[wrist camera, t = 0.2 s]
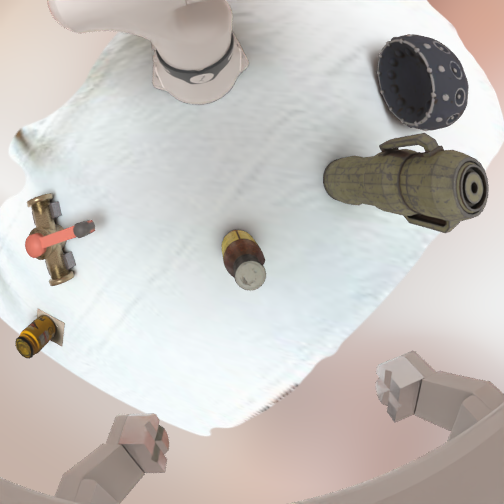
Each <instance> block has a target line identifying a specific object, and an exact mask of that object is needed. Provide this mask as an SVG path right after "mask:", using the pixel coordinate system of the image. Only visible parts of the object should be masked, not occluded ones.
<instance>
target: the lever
mask: <svg viewBox="0 0 504 504" xmlns="http://www.w3.org/2000/svg"><path fill="white" fill-rule="evenodd" d="M93 231H95V225H94V223H93V221H92V220H86V221H83V222H80V223H77V224H76V225H75V226H72V227H69V228H67V229H64V230H61V231H58V232H55V233H53V234H50V235H47V236H43V235H42V234H40V233H35V234H32V235H30V236H28V237H27V239H26V242H25V247H26V251H27V253H28V254H29V255H30V256H31V257H33V258H36V257H39V256H41V255H43V254H44V253H45V251H46V248H47V247H48V246H51V245H54V244H57V243H60V242H63V241H66V240H69V239H72V238H75V237H78V238H81V237H84V236H86V235H88V234H90V233H92V232H93Z"/></svg>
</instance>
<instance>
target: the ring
mask: <svg viewBox="0 0 504 504" xmlns="http://www.w3.org/2000/svg"><path fill="white" fill-rule="evenodd" d="M377 75H378V79H379V84H380V88H381V94H382V95H383V97H384V99H385V102H386V103H387V105H388V107H389V110H390V111H391V112H392V113H393V114H394V115H395V116H396V117H397V118H398V119H399V120H400V121H401V122H402V123H403V124H407V126H408V127H410V128H412V127H414V128H418V129H422V130H424V131H428V130H436V129H440V128H444V127H447V126H450V125H451V124H453V123H454V122H455V121H457V120H458V119H459V118H460V116H461V115H462V114H463V112H464V110H465V108H466V106H467V99H468V81H467V78H466V75H465V73H464V70H463V67H462V65H461V63H460V61H459V60H458V58H457V57H456V56H455V55H454V53H453V52H452V51H451V50H450V49H449V48H447V47H446V46H445V45H443V44H442V43H440V42H438V41H436V40H434V39H432V38H428V37H424V36H419V35H410V34H408V35H404V36H400V37H393V38H392V39H391V41H388V42H387V43H386V45H385V46H384V48H383V49H382V51H381V53H380V54H379V61H378V71H377Z"/></svg>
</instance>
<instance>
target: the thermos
mask: <svg viewBox="0 0 504 504" xmlns="http://www.w3.org/2000/svg"><path fill="white" fill-rule="evenodd" d="M413 145H420V146H422V147H424V149H425V151H426V152H423V153H420V152H418V153H417V152H415V151H413V150H408V149H402V150H399V149H398V147H405V146H413ZM379 147H380V149H381V151H382V152H381V153H378V154H377V155H375V156H372V157H364V158H363V157H359V156H350V157H345V158H340V159H338V160H335V161H333V162H331V163H330V164H329V165H328V166H327V168H326V169H325V172H324V175H323V183H324V187H325V190H326V191H327V193H328V194H329V195H330V196H331V197H332V198H333V199H335V200H338V201H341V202H343V203H347V204H352V205H360V204H362V203H363V204H368V205H373V206H376V207H377V208H379V209H381V210H383V211H386V212H391V213H395V214H399V215H403V216H404V217H405V218H406V219H407V221H408V222H409V223H411V224H415V225H419V226H422V227H426V228H429V229H433V230H436V231H440V232H443V233H447V232H450V231H451V230H452V229H453V228H454V227H456V226H457V225H458V224H459V223H460V221H463V220H467V219H471V218H474V217H476V216H478V215H479V214H480V213H481V212H482V211H483V209H484V207H485V205H486V202H487V198H488V180H487V176H486V173H485V170H484V168H483V167H482V165H481V163H480V162H478V161H477V160H476V159H475V158H472V157H470V156H468V155H466V154H464V153H461V152H458V151H455V150H445V151H444V149H443V147H442V146H438V144H437V142H436V140H435V139H433V138H432V137H430V136H429V135H427V134H425V133H422V134H416V135H411V136H405V137H400V138H395V139H391V140H388V141H386V142H384V143H383V144H381V145H379Z"/></svg>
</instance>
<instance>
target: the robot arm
mask: <svg viewBox="0 0 504 504" xmlns="http://www.w3.org/2000/svg"><path fill="white" fill-rule="evenodd" d="M47 2H48V7H49V10H50V12H51V14H52V16H53V18H54V19H55V20H56V21H57V22H58V23H59V24H60V25H61V26H63V27H64V28H66V29H68V30H70V31H72V32H76V33H85V32H93V31H118V32H125V33H130V34H134V35H137V36H141V37H143V38H146V39H148V40H150V41H151V42H152V49H153V50H155V52H154V55H153V62H154V65H153V79H152V83H153V86H154V87H155V88H157V89H161V90H165V91H167V92H169V93H170V94H171V95H172V96H173V97H175V98H176V99H178V100H180V101H182V102H184V103H188V104H207V103H210V102H213V101H216V100H218V99H220V98H221V97H223V96H224V95H225V94H227V93H228V92H229V91H230V90H231V88H232V87H233V85H234V84H235V82H236V79H237V77H238V76H239V74H240V73H242V72H243V71H244V70H245V69H246V68H247V67H248V65H249V61H248V59H247V57H246V55H245V53H244V51H243V49H242V47H241V45H240V44H239V42H238V40H237V38H236V36H235V34H234V33H233V31H232V20H233V14H232V10H231V8H230V6H229V4H228V3H227V1H226V0H47ZM241 58H242V59H241ZM157 77H158V78H157ZM377 375H378V376H379V378H378V380H377V381H376V392H377V396H378V398H379V400H380V402H381V403H382V404H383V405H386V406H388V408H387V412H388V414H389V415H390V416H391V418H392V420H393V421H394V422H398V421H400V420H402V419H405V418H407V417H409V416H411V415H414V414H415V416H417V417H419V418H422V419H424V420H426V421H428V422H431V423H433V424H435V425H437V426H440V427H442V428H444V429H446V430H449V431H451V433H450V436H449V438H448V440H447V442H446V443H444V444H443V445H441V446H439V447H437V448H436V449H434V450H432V451H431V452H428V453H427V454H425V455H423V456H421V457H419V458H417V459H415V460H413V461H411V462H409V463H407V464H405V465H403V466H401V467H398V468H396V469H394V470H392V471H389V472H387V473H385V474H383V475H380V476H378V477H375V478H373V479H370V480H368V481H365V482H362V483H360V484H357V485H354V486H351V487H348V488H345V489H342V490H339V491H336V492H332V493H329V494H325V495H322V496H318V497H315V498H311V499H307V500H303V501H298V502H294V503H290V504H504V394H503V393H502V392H501V391H500V390H499V389H498V388H497V387H495V386H494V385H493V384H492V383H491V382H489V381H484V380H478V379H474V378H470V377H464V376H460V375H456V374H452V373H447V372H443V371H438V372H436V371H435V370H434V369H433V368H432V367H431V366H430V365H429V364H428V363H427V362H426V361H425V360H423V359H422V358H421V357H420V356H419V355H418V354H417V353H416V352H415V351H411V352H408V353H406V354H403V355H401V356H399V357H396V358H394V359H392V360H389V361H386V362H384V363H381V364H379V365H378V366H377ZM168 450H169V439H168V435H167V432H166V431H165V429H164V428H163V427H161V426H160V425H159V419H158V417H157V415H156V414H153V413H151V414H126V415H125V414H119V415H117V416H116V417H115V420H114V423H113V425H112V428H111V431H110V433H109V436H108V439H107V442H106V444H102V445H100V446H99V447H98V448H97V449H95V450H94V451H93V452H91V453H90V454H89V455H88V456H86V457H85V458H84V459H83V460H81V461H80V462H79V463H77V464H76V465H75V466H73V467H72V468H71V469H70V470H68V471H67V472H65V473H64V474H63V477H62V479H61V481H60V484H59V486H58V489H57V492H56V494H55V497H54V496H50V495H47V494H44V493H40V492H37V491H34V490H31V489H28V488H26V487H23V486H20V485H18V484H15V483H13V482H10V481H8V480H6V479H3V478H1V477H0V504H120V503H121V502H122V501H123V499H124V498H125V497H126V496H127V495H128V494H129V492H130V491H131V490H132V489H133V488H134V486H135V485H136V484H137V483H138V482H139V480H140V479H141V478H142V477H143V475H144V473H164V472H165V471H166V464H167V459H166V457H165V456H164V454H165V453H166V452H167V451H168Z"/></svg>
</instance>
